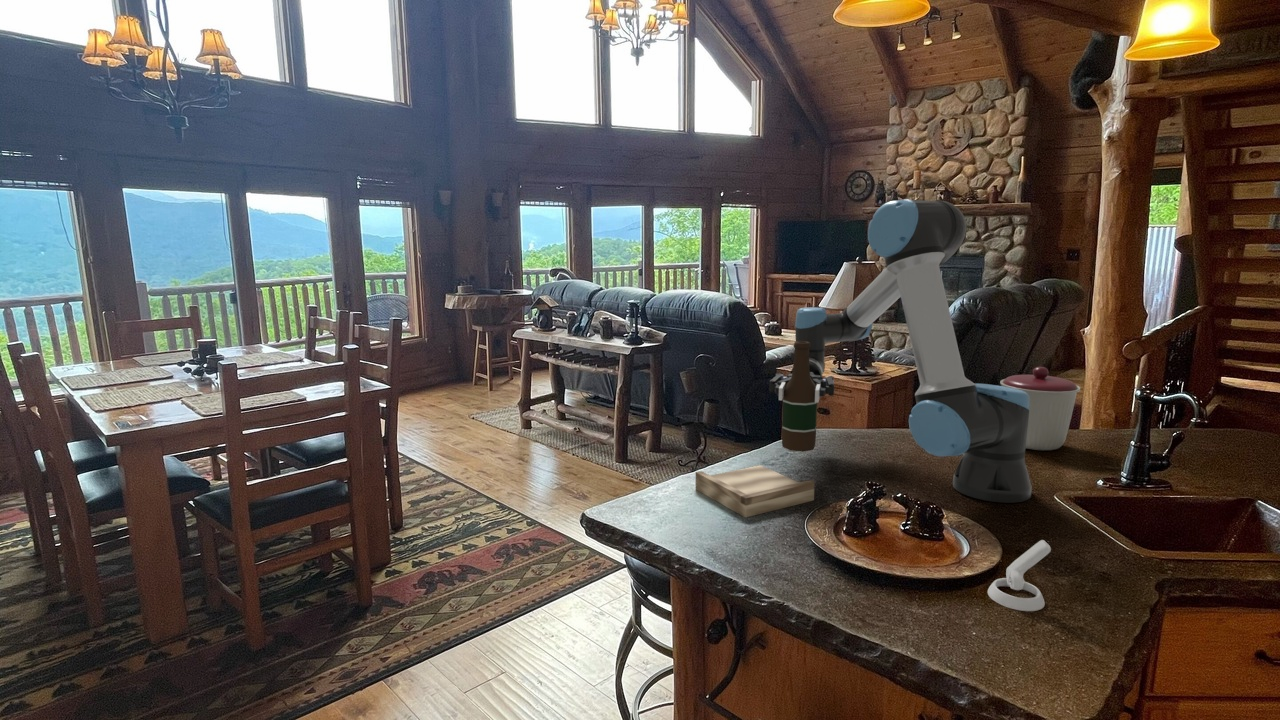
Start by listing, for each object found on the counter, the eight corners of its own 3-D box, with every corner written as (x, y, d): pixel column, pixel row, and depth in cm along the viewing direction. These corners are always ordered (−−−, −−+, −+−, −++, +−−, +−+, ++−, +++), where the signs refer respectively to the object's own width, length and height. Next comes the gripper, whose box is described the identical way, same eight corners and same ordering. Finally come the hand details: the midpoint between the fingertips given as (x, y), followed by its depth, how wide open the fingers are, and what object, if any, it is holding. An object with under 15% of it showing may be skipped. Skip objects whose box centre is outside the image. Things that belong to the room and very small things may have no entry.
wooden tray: (813, 500, 143) (814, 482, 142) (745, 517, 134) (745, 498, 133) (759, 475, 158) (760, 458, 157) (695, 489, 150) (695, 472, 149)
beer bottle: (777, 442, 156) (779, 339, 152) (810, 441, 157) (813, 338, 153) (786, 452, 149) (789, 344, 144) (821, 451, 149) (825, 344, 145)
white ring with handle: (1092, 588, 96) (1051, 561, 95) (1027, 635, 101) (989, 610, 101) (1074, 554, 102) (1036, 529, 102) (1015, 600, 108) (978, 576, 108)
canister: (981, 442, 181) (987, 365, 178) (1017, 432, 191) (1024, 358, 187) (1052, 460, 166) (1060, 376, 163) (1087, 447, 176) (1096, 368, 173)
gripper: (847, 392, 165) (845, 415, 143) (765, 387, 171) (751, 409, 149) (848, 362, 164) (847, 380, 142) (766, 358, 170) (752, 376, 148)
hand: (798, 395), depth 146 cm, fingers closed on beer bottle, 7 cm apart
